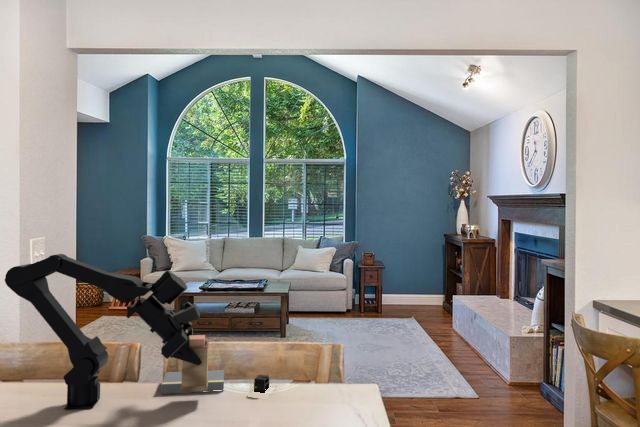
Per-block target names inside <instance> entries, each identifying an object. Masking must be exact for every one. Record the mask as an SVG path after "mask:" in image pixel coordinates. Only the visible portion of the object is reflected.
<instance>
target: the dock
mask: <svg viewBox="0 0 640 427" xmlns="http://www.w3.org/2000/svg"><path fill="white" fill-rule="evenodd" d="M181 384H182V371H168V372H165V375H164V378H163V380H162V383H161V385H160V386H161V388H160V390H161V391H160V392H161V395H169V394H170V393H175V394H188V393H187V392H190V393H189V394H192V393H191V392H197V393H204V392H203V391H184V392H180V389H181ZM224 384H225V370H224V369H222V370H220V369H219V370H218V369H217V370H208V388H207V391H213V390H223V389H224V388H225V387H224ZM224 390H225V389H224Z"/></svg>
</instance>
